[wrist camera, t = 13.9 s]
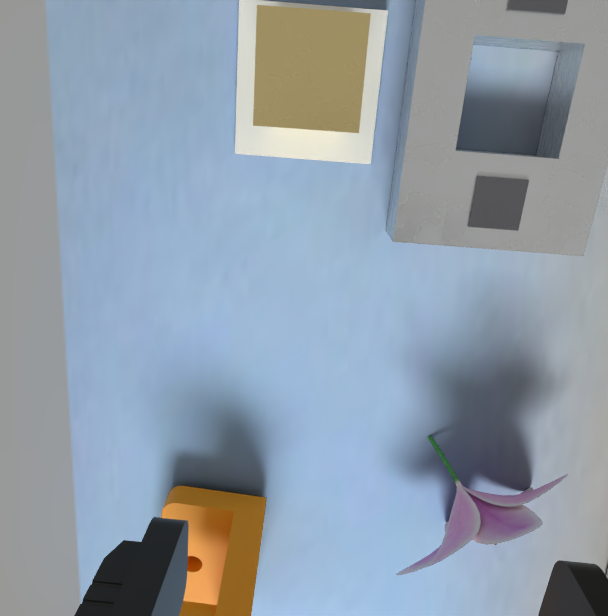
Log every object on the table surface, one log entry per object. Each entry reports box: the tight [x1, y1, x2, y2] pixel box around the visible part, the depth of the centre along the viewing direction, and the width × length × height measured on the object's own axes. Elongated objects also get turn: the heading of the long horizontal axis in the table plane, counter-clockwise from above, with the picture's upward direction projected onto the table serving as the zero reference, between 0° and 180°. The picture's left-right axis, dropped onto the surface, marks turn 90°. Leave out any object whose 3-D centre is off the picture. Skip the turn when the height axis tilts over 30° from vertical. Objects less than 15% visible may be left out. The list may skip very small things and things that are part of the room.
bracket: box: [161, 486, 266, 616], centre depth 36 cm, size 11×7×12 cm, turn 171°
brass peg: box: [253, 5, 371, 133], centre depth 25 cm, size 4×4×9 cm
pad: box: [235, 0, 388, 164], centre depth 30 cm, size 8×8×1 cm
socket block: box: [386, 0, 608, 256], centre depth 28 cm, size 11×16×3 cm
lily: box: [396, 436, 568, 575], centre depth 35 cm, size 12×12×10 cm
